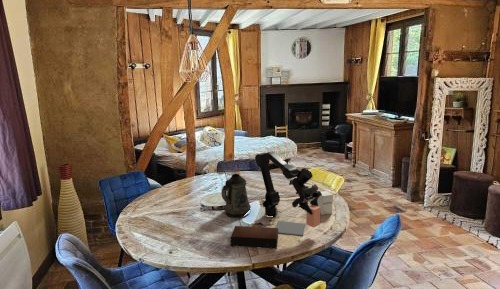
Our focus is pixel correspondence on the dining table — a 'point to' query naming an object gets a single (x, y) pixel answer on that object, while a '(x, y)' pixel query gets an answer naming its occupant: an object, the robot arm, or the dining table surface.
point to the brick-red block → (313, 216)
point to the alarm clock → (254, 237)
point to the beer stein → (235, 197)
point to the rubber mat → (290, 228)
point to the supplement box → (325, 203)
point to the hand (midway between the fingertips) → (315, 213)
